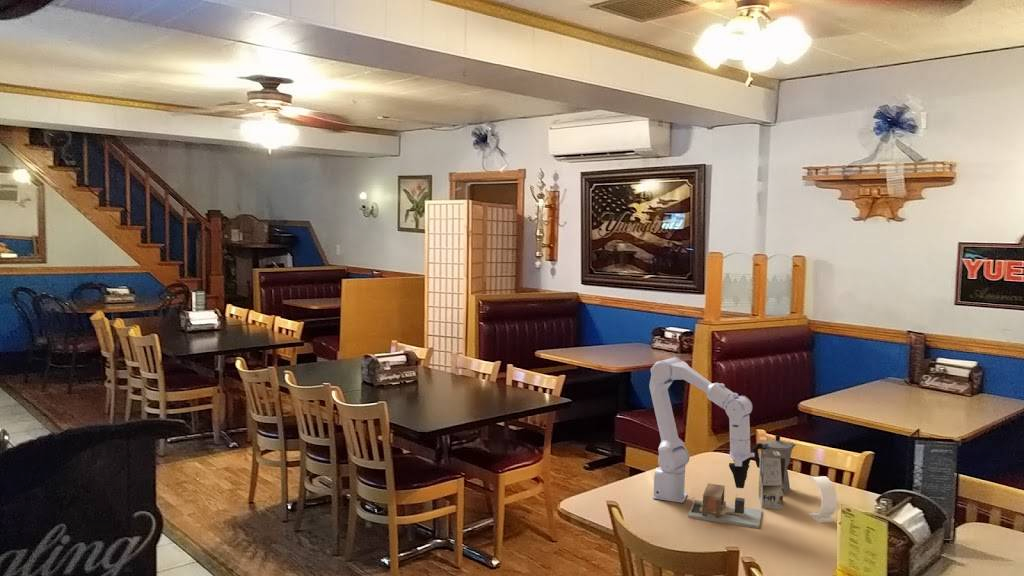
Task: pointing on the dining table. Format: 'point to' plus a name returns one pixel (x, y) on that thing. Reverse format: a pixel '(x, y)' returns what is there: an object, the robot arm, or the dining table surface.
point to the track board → (728, 516)
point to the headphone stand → (825, 500)
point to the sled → (737, 511)
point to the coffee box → (771, 478)
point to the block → (711, 504)
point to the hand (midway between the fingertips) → (741, 483)
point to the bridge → (713, 497)
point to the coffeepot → (776, 445)
